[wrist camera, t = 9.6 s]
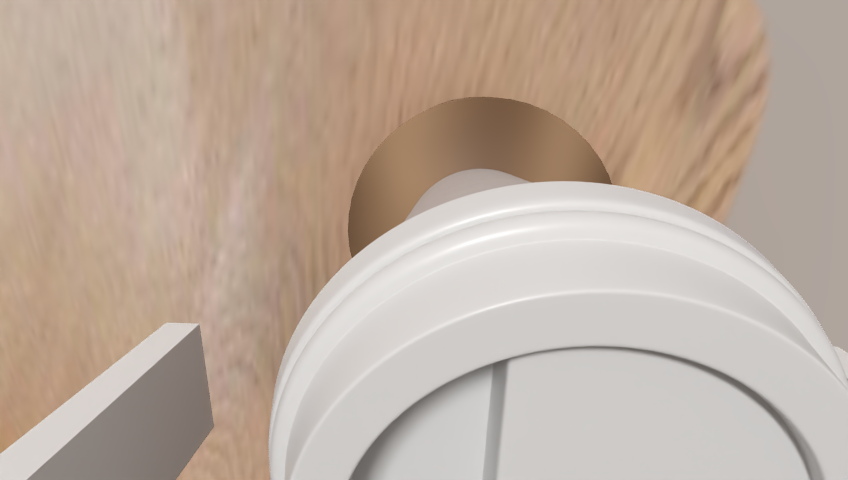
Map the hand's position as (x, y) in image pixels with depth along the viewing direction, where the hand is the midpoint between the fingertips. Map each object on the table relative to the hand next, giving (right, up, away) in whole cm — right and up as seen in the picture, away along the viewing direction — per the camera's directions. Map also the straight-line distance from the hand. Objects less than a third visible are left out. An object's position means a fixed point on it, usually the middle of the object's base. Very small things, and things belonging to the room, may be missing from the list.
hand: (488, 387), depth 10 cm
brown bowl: (+1, +5, +15) cm, 16 cm away
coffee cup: (+1, +3, +10) cm, 11 cm away
